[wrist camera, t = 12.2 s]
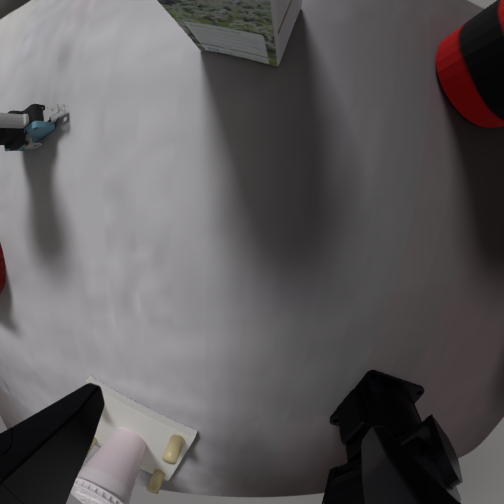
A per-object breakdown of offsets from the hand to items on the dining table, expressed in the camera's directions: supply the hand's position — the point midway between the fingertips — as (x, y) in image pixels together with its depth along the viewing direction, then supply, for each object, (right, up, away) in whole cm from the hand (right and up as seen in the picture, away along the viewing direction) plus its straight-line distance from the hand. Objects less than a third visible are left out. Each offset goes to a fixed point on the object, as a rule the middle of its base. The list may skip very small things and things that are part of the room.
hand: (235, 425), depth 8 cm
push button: (-17, +16, +11) cm, 26 cm away
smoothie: (-13, -15, +18) cm, 27 cm away
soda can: (+17, +18, +7) cm, 26 cm away
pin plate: (-13, -15, +19) cm, 27 cm away
